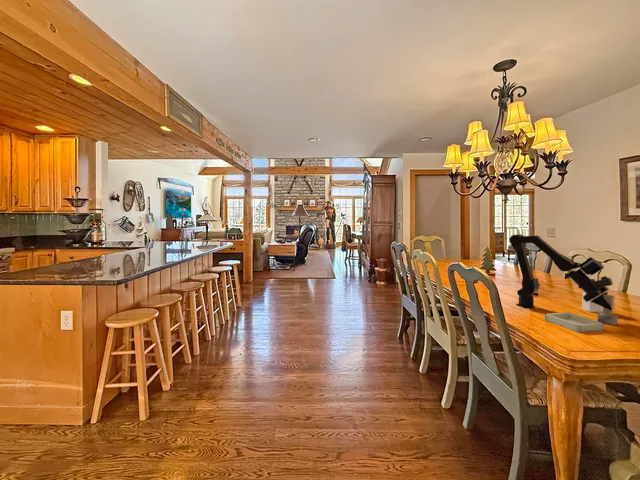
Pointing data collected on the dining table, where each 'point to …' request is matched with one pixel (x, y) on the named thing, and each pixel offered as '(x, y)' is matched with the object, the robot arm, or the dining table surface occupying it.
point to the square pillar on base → (608, 312)
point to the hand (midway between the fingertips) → (612, 309)
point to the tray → (574, 322)
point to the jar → (591, 306)
